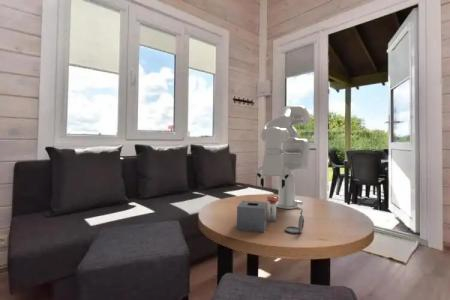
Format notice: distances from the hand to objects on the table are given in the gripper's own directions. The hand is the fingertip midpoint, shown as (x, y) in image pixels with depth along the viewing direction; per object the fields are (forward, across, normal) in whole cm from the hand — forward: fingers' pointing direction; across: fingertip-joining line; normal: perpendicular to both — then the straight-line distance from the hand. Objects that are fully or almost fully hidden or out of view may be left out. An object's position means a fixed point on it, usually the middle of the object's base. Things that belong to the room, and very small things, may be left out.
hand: (272, 187), depth 123 cm
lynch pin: (+17, 0, -1) cm, 17 cm away
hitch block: (+17, +8, +11) cm, 22 cm away
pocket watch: (+17, -11, +12) cm, 24 cm away
